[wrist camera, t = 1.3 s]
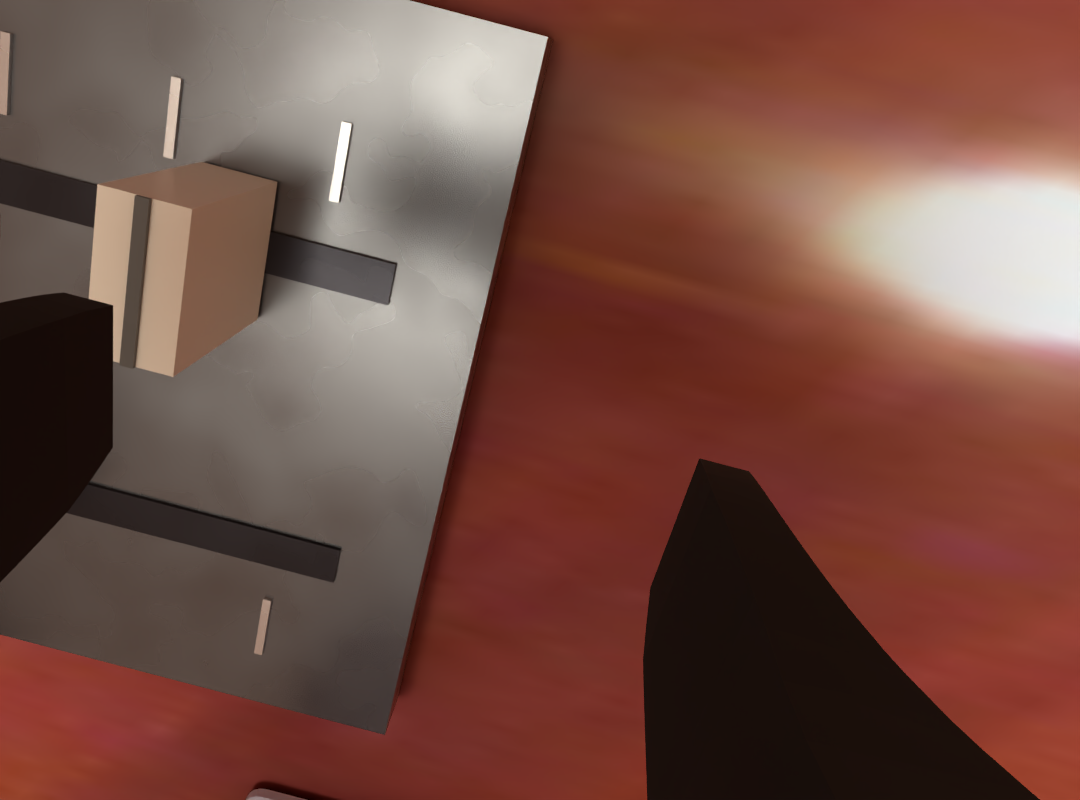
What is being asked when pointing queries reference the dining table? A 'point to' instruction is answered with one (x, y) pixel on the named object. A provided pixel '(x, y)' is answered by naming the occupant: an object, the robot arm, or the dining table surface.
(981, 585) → the dining table surface
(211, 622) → the mixing console
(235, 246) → the fader cap ivory
